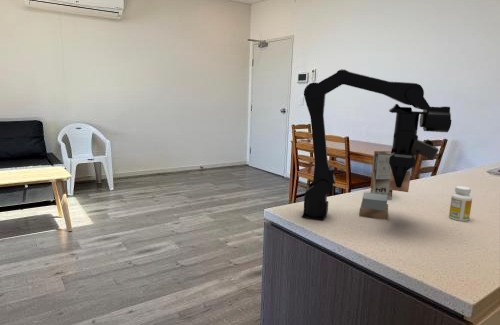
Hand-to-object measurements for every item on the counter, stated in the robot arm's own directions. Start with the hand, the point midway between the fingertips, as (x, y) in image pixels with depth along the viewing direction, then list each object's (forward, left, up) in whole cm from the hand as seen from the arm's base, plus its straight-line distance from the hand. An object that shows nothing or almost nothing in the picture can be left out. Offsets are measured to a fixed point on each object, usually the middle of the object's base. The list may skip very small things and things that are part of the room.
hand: (398, 185), depth 100 cm
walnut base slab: (-6, +7, -12) cm, 15 cm away
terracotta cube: (0, 0, -1) cm, 1 cm away
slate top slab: (-6, +7, -9) cm, 13 cm away
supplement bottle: (+18, +14, -12) cm, 26 cm away
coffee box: (-5, +29, -12) cm, 32 cm away
